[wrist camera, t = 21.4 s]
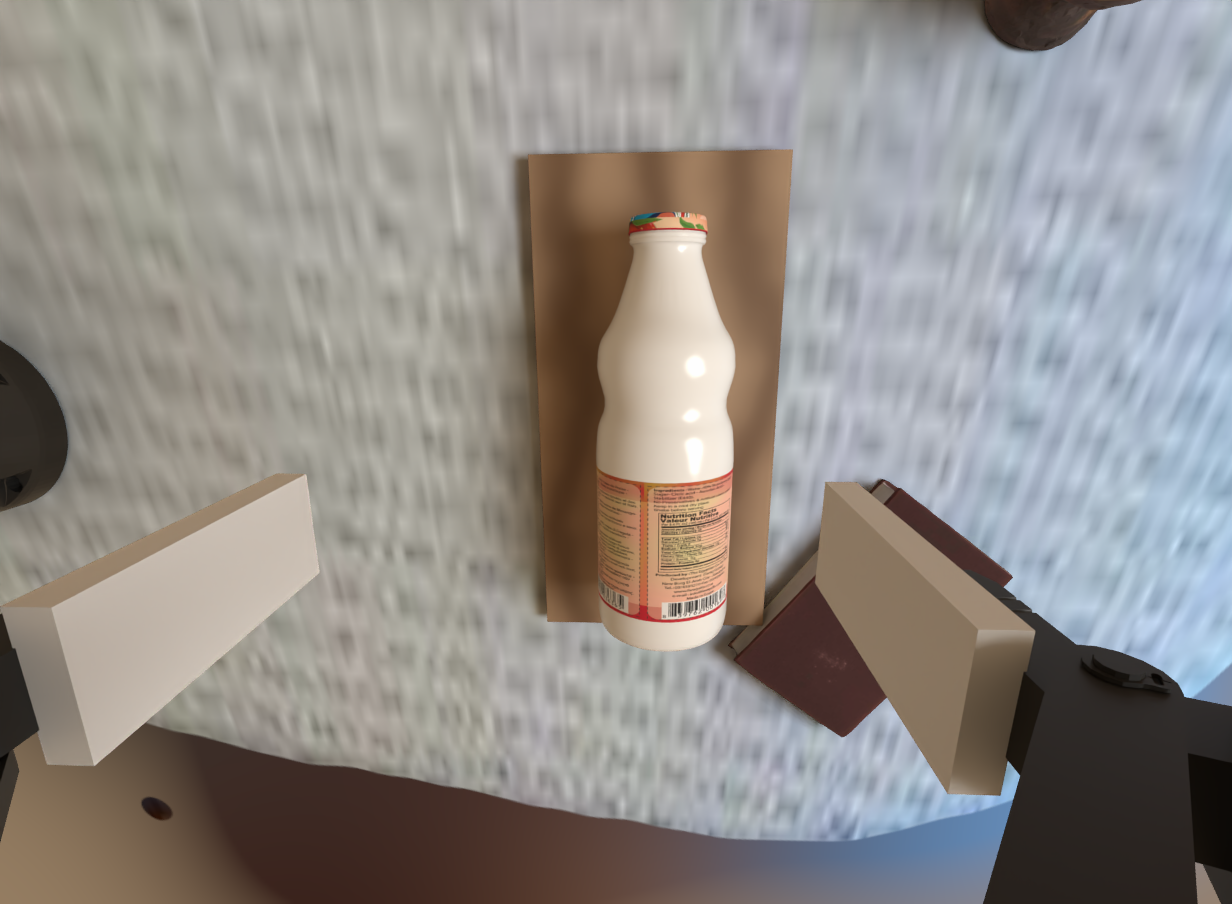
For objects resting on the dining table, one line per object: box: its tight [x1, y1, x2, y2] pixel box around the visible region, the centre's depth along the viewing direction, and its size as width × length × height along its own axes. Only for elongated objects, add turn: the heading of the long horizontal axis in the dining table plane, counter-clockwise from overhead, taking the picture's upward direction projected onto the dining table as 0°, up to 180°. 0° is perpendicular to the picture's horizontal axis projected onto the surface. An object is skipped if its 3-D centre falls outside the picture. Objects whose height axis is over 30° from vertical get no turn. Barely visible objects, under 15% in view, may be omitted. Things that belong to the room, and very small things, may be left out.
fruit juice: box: [596, 212, 736, 651], centre depth 40 cm, size 9×9×28 cm
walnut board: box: [528, 150, 793, 626], centre depth 44 cm, size 18×36×1 cm, turn 0°
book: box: [728, 479, 1013, 737], centre depth 47 cm, size 12×19×3 cm, turn 143°
